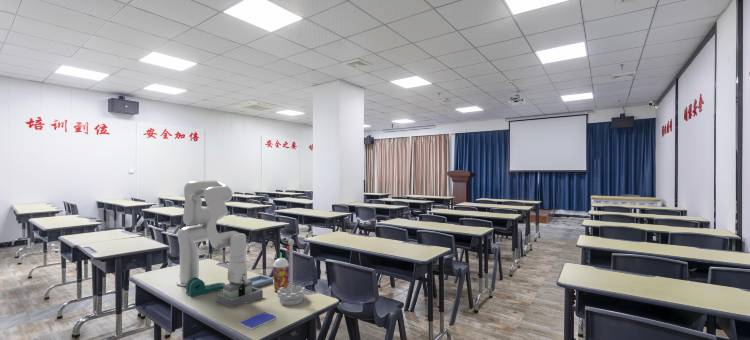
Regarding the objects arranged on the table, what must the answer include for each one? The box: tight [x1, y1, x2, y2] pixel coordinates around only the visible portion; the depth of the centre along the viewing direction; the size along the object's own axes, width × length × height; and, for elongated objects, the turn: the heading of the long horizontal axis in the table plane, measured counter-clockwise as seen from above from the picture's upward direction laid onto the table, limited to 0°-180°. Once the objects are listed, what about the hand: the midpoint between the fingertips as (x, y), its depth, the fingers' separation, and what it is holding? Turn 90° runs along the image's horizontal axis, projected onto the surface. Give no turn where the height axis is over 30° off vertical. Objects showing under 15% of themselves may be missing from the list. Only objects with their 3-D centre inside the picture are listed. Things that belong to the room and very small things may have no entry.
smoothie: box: [272, 252, 290, 293], centre depth 185 cm, size 8×8×20 cm
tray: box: [247, 274, 274, 289], centre depth 194 cm, size 11×17×2 cm, turn 144°
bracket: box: [185, 277, 226, 298], centre depth 184 cm, size 18×7×8 cm, turn 134°
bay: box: [216, 287, 264, 309], centre depth 172 cm, size 12×17×4 cm
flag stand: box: [276, 238, 306, 306], centre depth 171 cm, size 13×13×30 cm
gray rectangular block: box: [222, 280, 252, 299], centre depth 174 cm, size 6×12×7 cm, turn 144°
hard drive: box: [238, 311, 277, 330], centre depth 148 cm, size 2×8×12 cm
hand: (237, 294), depth 174 cm, fingers closed on gray rectangular block, 6 cm apart
